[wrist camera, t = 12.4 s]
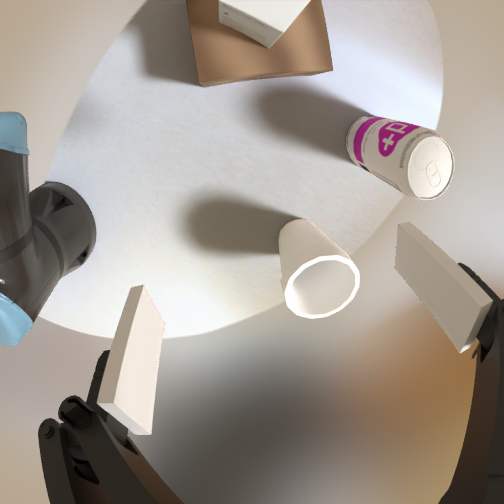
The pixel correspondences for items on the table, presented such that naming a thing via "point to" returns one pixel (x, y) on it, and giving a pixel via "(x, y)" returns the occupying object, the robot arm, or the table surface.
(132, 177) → the table surface
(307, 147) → the table surface
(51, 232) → the robot arm
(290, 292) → the foam cup
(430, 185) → the supplement can
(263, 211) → the table surface
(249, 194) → the table surface
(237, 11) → the product box
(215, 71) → the walnut block
